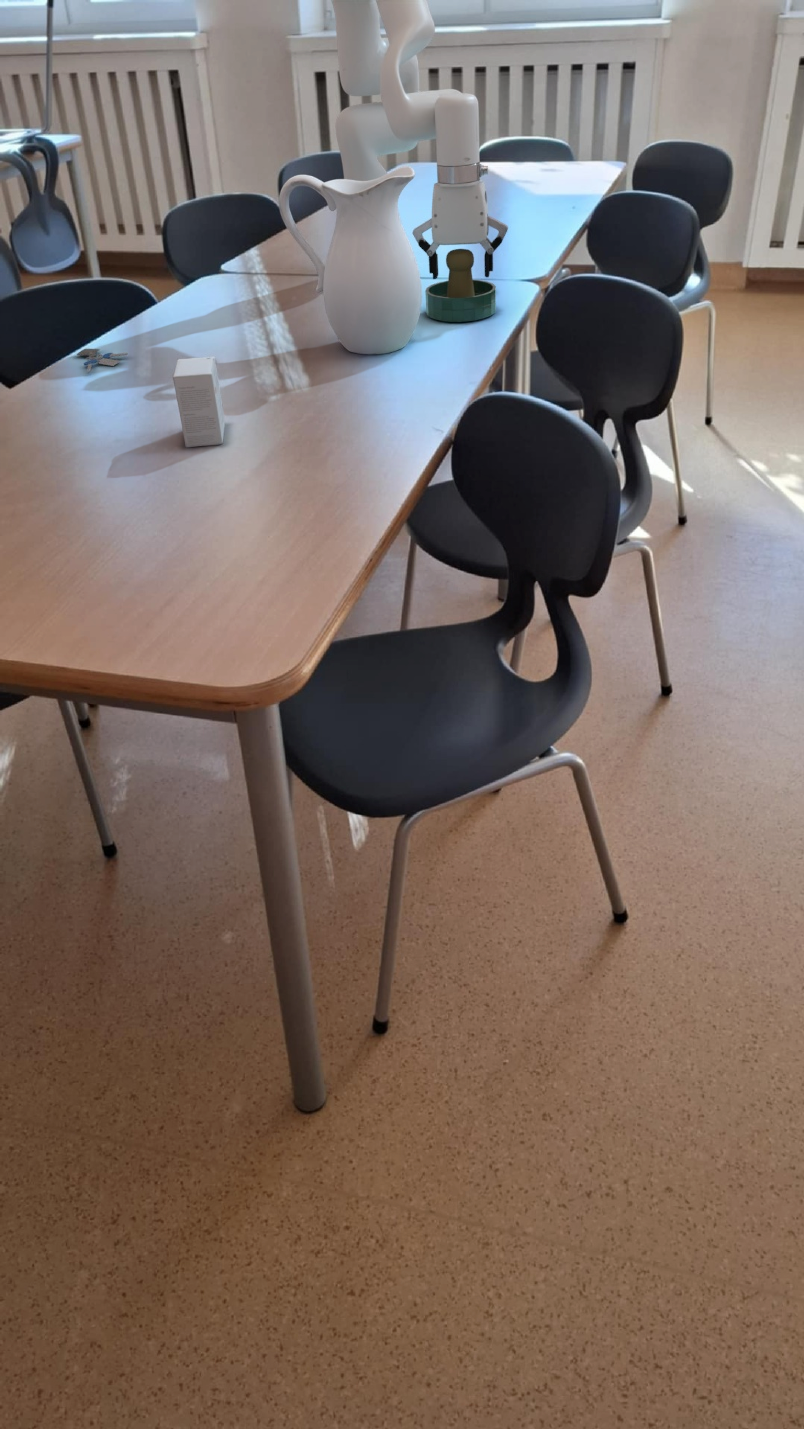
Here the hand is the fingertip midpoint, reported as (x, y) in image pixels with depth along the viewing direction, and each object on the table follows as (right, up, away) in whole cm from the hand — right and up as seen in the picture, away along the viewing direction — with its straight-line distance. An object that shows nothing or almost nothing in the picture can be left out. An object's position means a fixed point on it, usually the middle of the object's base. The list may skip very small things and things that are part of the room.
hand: (461, 276), depth 198 cm
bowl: (0, -5, +4) cm, 7 cm away
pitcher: (-19, -16, -8) cm, 26 cm away
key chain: (-64, -18, -7) cm, 67 cm away
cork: (0, -5, +4) cm, 7 cm away
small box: (-40, -40, -40) cm, 70 cm away
